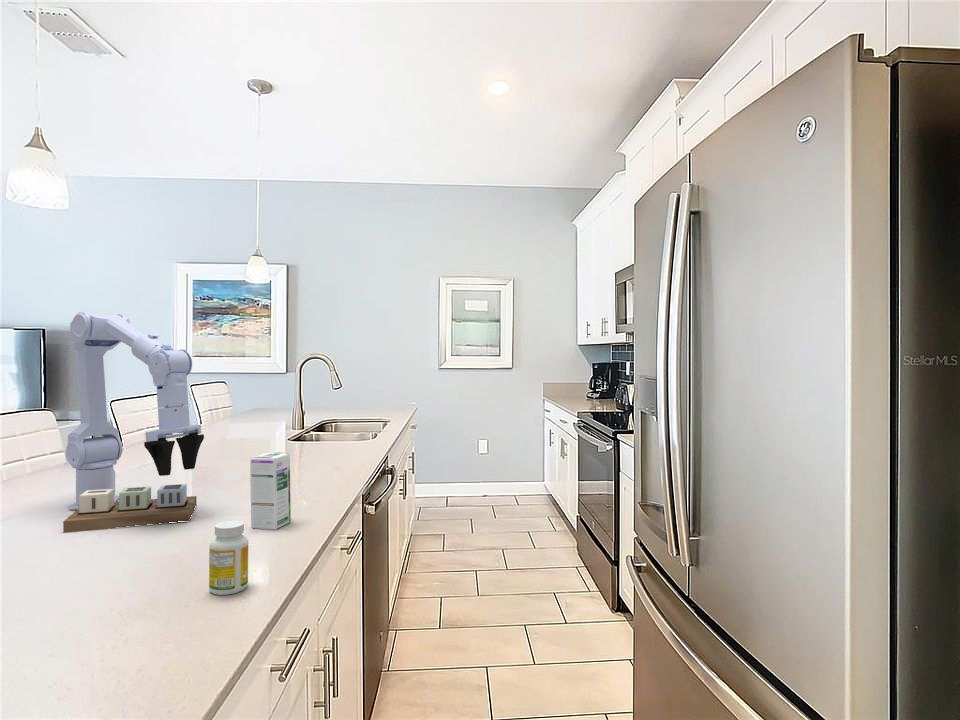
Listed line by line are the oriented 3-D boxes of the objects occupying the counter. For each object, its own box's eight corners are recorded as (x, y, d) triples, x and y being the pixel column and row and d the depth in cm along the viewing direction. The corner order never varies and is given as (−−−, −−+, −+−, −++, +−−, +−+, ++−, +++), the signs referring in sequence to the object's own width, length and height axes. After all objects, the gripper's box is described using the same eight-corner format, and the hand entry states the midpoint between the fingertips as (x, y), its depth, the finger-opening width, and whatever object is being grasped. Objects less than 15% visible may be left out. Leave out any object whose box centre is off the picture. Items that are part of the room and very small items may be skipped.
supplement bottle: (219, 599, 83) (219, 531, 83) (202, 589, 87) (202, 524, 87) (255, 587, 87) (255, 523, 87) (237, 578, 91) (237, 517, 91)
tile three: (161, 501, 128) (161, 484, 128) (186, 499, 130) (186, 483, 130) (157, 507, 123) (157, 490, 123) (183, 505, 125) (183, 488, 125)
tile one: (86, 506, 123) (86, 489, 123) (113, 505, 125) (113, 487, 125) (79, 513, 118) (79, 495, 118) (107, 511, 120) (107, 493, 120)
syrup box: (276, 530, 116) (276, 457, 116) (249, 528, 117) (249, 456, 117) (291, 522, 121) (291, 452, 121) (265, 520, 123) (265, 451, 123)
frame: (84, 513, 127) (84, 503, 127) (196, 505, 134) (196, 495, 134) (63, 532, 114) (63, 521, 114) (188, 521, 121) (188, 511, 121)
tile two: (124, 504, 126) (124, 487, 126) (151, 502, 127) (151, 485, 127) (118, 510, 121) (118, 492, 121) (146, 508, 122) (146, 490, 122)
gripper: (166, 407, 115) (170, 477, 114) (212, 403, 129) (216, 465, 128) (134, 410, 116) (138, 479, 115) (183, 406, 130) (187, 467, 130)
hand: (177, 472), depth 122 cm, fingers open, 7 cm apart
